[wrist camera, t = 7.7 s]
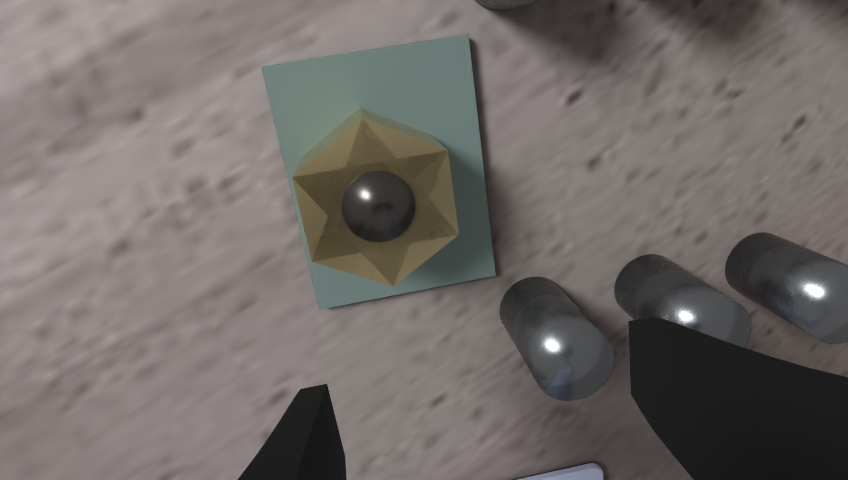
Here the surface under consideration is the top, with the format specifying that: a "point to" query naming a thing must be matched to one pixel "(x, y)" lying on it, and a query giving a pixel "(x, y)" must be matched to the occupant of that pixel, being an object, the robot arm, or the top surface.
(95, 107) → the top surface
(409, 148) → the brass nut
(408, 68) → the green mat
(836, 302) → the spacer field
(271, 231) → the top surface
